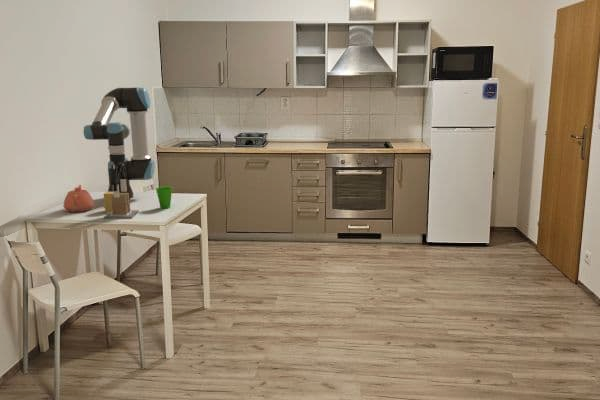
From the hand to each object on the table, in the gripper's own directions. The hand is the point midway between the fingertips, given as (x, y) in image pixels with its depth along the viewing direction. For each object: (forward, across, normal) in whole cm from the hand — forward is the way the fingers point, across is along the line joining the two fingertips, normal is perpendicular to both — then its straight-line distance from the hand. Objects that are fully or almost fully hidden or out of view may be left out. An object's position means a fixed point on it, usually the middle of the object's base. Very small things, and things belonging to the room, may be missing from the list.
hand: (120, 194), depth 282 cm
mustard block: (+11, -10, -8) cm, 17 cm away
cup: (+12, -16, +19) cm, 28 cm away
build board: (+11, +1, 0) cm, 11 cm away
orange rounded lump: (+12, -14, -27) cm, 33 cm away
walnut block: (+10, +1, 0) cm, 10 cm away
